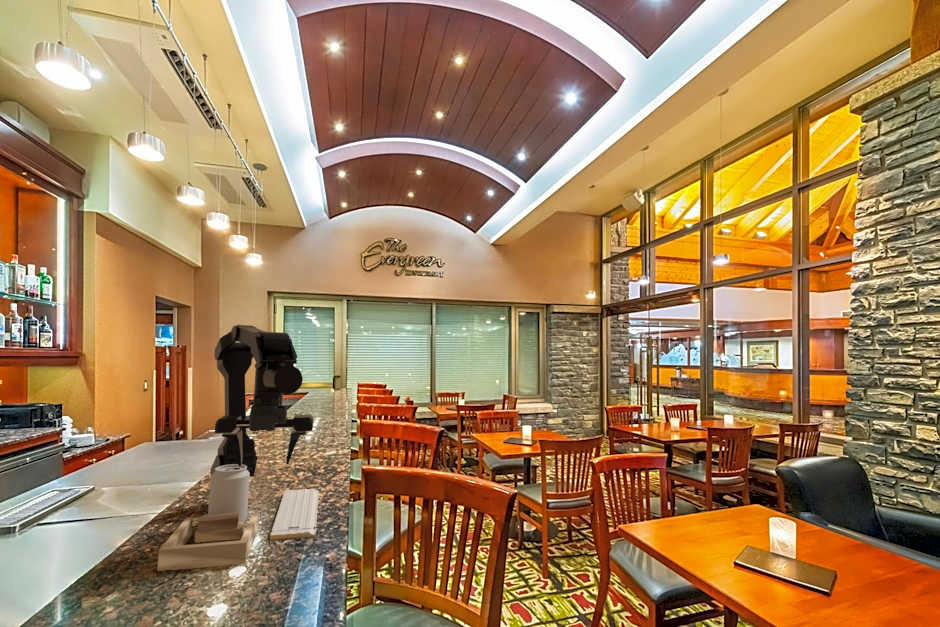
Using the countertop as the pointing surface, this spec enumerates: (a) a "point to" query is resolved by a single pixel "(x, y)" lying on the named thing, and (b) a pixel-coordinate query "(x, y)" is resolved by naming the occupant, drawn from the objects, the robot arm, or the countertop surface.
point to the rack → (205, 549)
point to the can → (229, 490)
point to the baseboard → (296, 515)
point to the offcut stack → (219, 527)
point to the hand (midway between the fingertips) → (264, 464)
